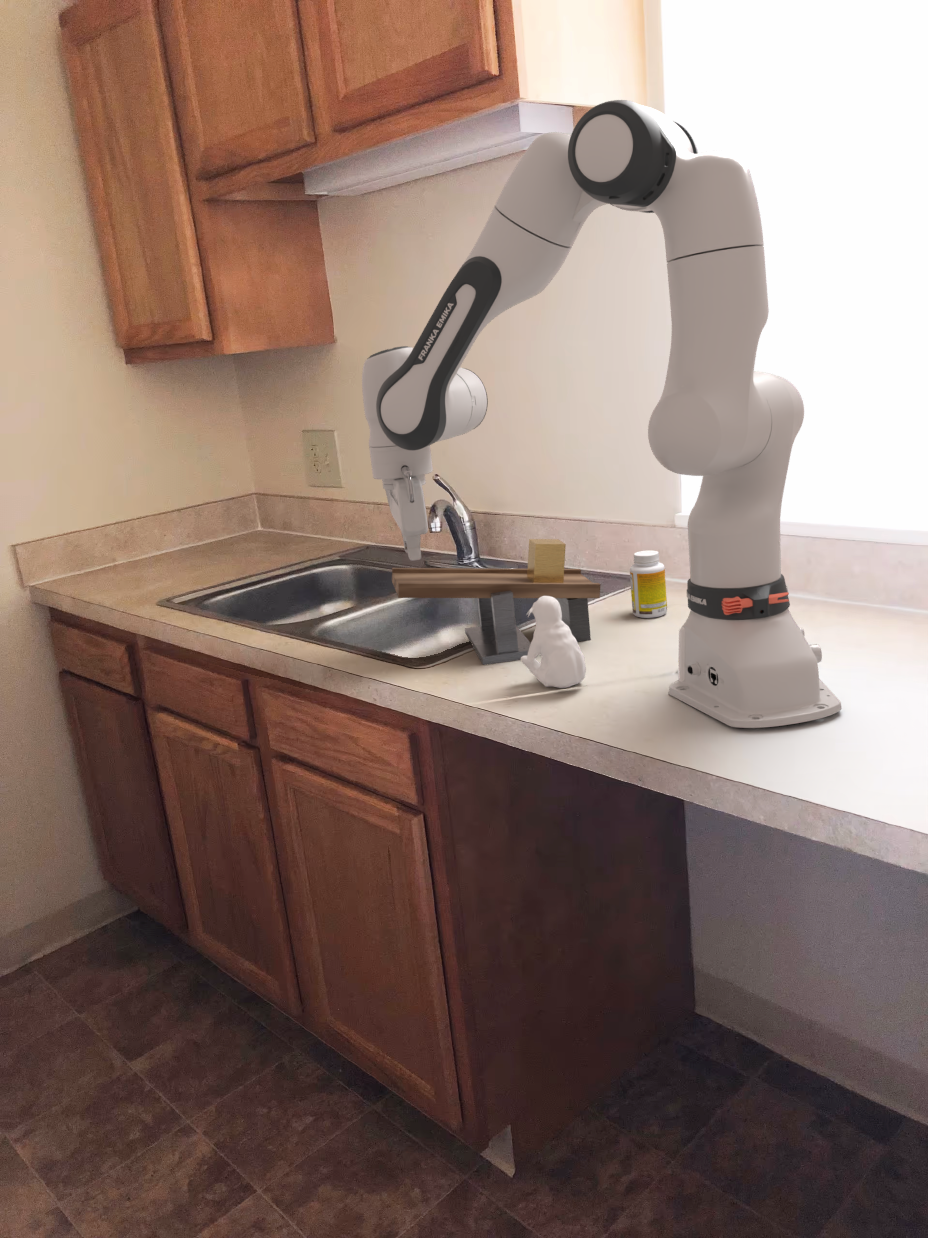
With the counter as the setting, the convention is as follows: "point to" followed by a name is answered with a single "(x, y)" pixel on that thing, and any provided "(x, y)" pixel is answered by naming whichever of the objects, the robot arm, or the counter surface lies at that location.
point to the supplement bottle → (648, 585)
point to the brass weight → (546, 561)
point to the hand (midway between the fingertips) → (413, 555)
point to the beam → (486, 583)
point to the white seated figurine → (553, 647)
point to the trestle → (505, 639)
